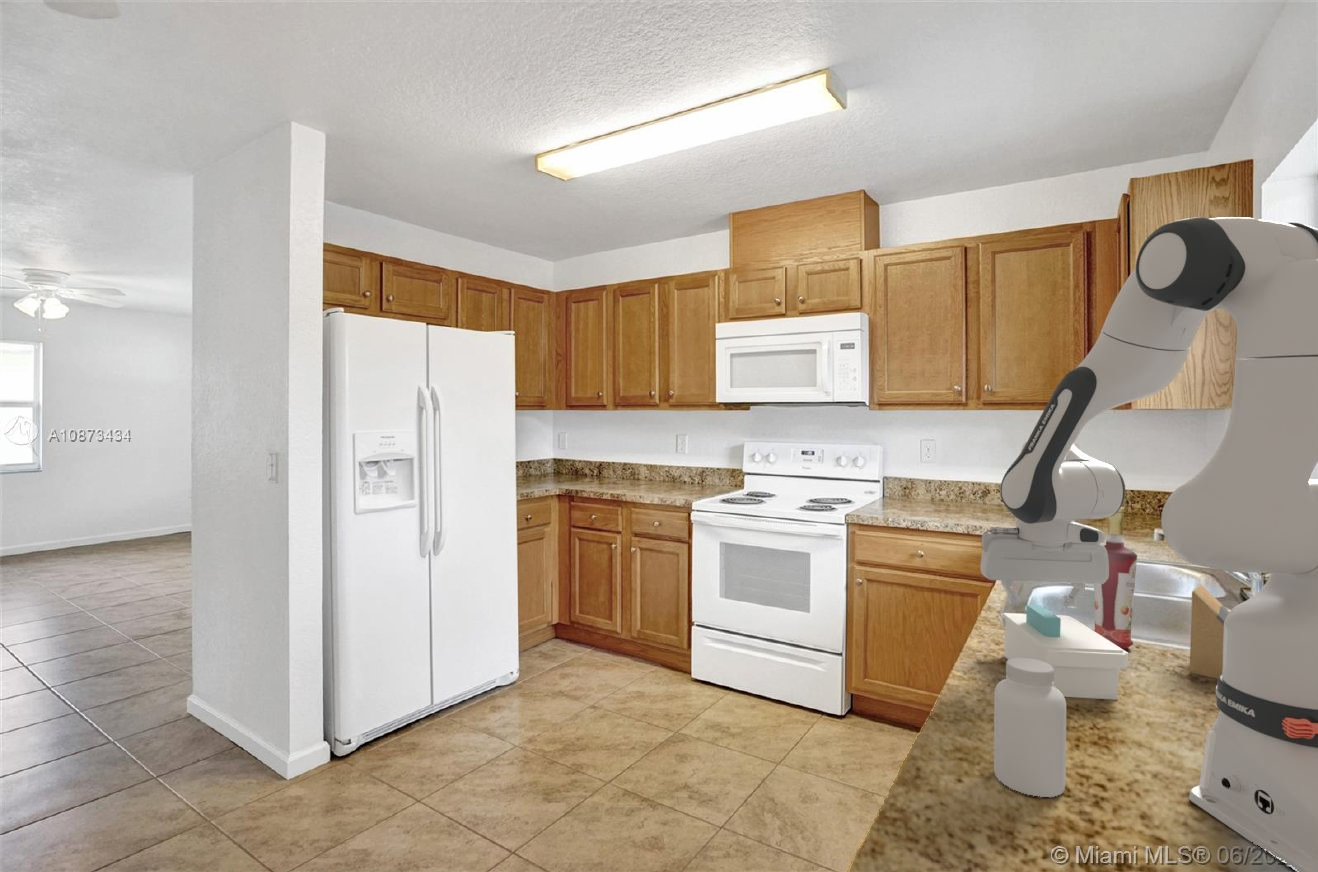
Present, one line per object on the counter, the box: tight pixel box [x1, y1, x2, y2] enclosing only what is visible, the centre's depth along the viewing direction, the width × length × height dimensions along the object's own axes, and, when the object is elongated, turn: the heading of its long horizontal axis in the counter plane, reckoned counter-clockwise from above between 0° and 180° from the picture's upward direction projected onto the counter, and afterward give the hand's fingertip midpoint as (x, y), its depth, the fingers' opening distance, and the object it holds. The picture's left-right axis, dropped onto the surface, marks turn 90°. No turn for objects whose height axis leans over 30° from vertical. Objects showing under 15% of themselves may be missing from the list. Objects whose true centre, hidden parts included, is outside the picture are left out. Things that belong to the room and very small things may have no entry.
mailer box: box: [1004, 619, 1120, 701], centre depth 118 cm, size 18×11×7 cm, turn 172°
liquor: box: [1093, 507, 1138, 651], centre depth 133 cm, size 7×7×28 cm
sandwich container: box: [1189, 583, 1230, 680], centre depth 118 cm, size 9×15×15 cm, turn 44°
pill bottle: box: [993, 658, 1067, 798], centre depth 84 cm, size 8×8×15 cm
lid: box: [1000, 604, 1129, 670], centre depth 118 cm, size 20×13×6 cm, turn 172°
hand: (1041, 605), depth 119 cm, fingers open, 8 cm apart
